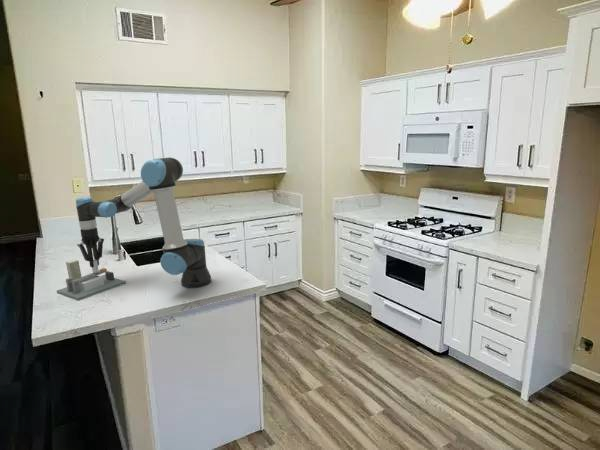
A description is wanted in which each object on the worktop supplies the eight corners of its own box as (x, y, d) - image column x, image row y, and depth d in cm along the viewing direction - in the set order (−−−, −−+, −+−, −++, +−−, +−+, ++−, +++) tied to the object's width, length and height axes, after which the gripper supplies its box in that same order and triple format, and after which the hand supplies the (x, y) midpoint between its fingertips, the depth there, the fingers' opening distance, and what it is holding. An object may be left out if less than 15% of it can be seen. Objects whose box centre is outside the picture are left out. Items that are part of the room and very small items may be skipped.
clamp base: (126, 283, 205) (124, 269, 203) (78, 300, 185) (75, 285, 183) (104, 277, 216) (102, 263, 214) (56, 292, 195) (54, 278, 194)
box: (79, 277, 216) (75, 258, 213) (82, 279, 213) (79, 260, 211) (68, 280, 212) (65, 261, 209) (72, 282, 209) (68, 262, 207)
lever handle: (107, 271, 205) (106, 268, 204) (76, 283, 192) (75, 280, 191) (104, 270, 206) (103, 267, 206) (73, 282, 193) (72, 279, 193)
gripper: (97, 224, 203) (104, 267, 209) (71, 230, 192) (78, 275, 198) (105, 225, 199) (112, 269, 205) (79, 231, 188) (87, 277, 194)
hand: (95, 272), depth 201 cm, fingers closed
